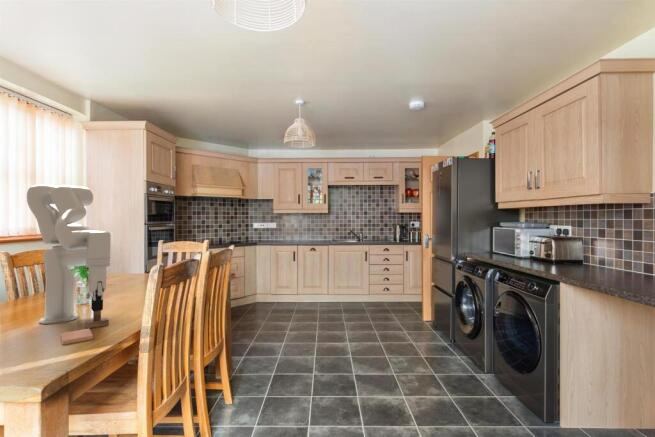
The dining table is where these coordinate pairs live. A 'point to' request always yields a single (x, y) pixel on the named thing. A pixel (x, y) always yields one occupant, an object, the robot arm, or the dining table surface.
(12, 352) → the dining table surface
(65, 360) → the dining table surface
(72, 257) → the robot arm
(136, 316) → the dining table surface
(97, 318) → the tool
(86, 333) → the tile
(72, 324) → the dining table surface
